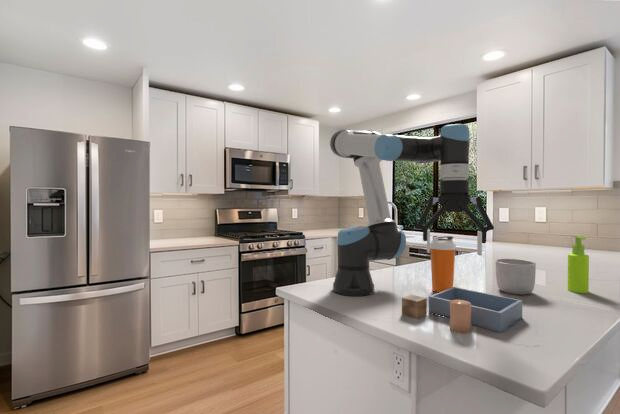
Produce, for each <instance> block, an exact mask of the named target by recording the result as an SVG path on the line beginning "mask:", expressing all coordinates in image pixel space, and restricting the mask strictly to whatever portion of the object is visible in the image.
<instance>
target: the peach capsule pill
mask: <svg viewBox="0 0 620 414" xmlns="http://www.w3.org/2000/svg"><path fill="white" fill-rule="evenodd" d="M449 330H450V331H452V330H453V331H452V332H454V331H455V333H458V332H459V334H469V332H470V333H471V332H472V325H471V303H470V302H468V301H465V300H451V301H450V319H449Z"/></svg>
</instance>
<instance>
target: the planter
mask: <svg viewBox="0 0 620 414" xmlns="http://www.w3.org/2000/svg"><path fill="white" fill-rule="evenodd" d="M494 263H495V280H496V285H497V288H498V289H499V290H501V291H502V292H504V293H507V294H513V295H529V294H531V293H533V291H534V290H535V284H536V274H537V273H536V270H537V269H536V268H537V267H536V266H537V264H536V262H534V261H532V260H526V259H518V258H498V259H495V262H494Z"/></svg>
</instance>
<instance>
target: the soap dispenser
mask: <svg viewBox="0 0 620 414" xmlns="http://www.w3.org/2000/svg"><path fill="white" fill-rule="evenodd" d="M573 238H574V239H575V242H574V244H572V247H571V248H572V249H571V250H572V253H568V254H567V291H568V292H572V293H577V294H588V293H589V288H590V287H589V285H590V284H589V281H590V280H589V277H590V275H589V274H590V267H589V266H590V263H589V262H590V255H588V254H585V245H584V244H582V240H587V239H586V237H585V236H583V235H574V236H573Z"/></svg>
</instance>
